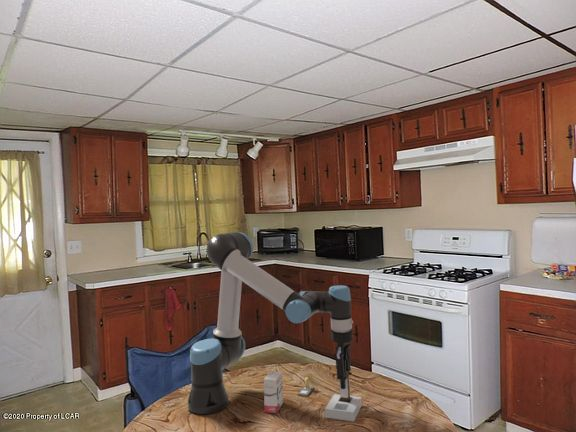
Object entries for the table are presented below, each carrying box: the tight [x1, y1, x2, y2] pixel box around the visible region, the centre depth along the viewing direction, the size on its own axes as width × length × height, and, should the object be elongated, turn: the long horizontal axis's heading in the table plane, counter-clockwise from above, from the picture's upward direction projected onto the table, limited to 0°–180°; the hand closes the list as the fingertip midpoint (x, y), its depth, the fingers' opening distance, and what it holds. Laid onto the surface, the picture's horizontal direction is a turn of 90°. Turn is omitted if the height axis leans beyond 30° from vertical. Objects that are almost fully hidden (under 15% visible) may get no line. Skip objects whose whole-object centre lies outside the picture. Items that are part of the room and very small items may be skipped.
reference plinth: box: [297, 376, 315, 397], centre depth 164 cm, size 4×8×5 cm, turn 158°
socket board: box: [324, 393, 363, 422], centre depth 146 cm, size 10×12×3 cm
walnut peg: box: [341, 370, 351, 403], centre depth 148 cm, size 3×3×12 cm
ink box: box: [263, 370, 284, 414], centre depth 151 cm, size 9×5×12 cm, turn 165°
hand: (345, 395), depth 148 cm, fingers closed on walnut peg, 2 cm apart
